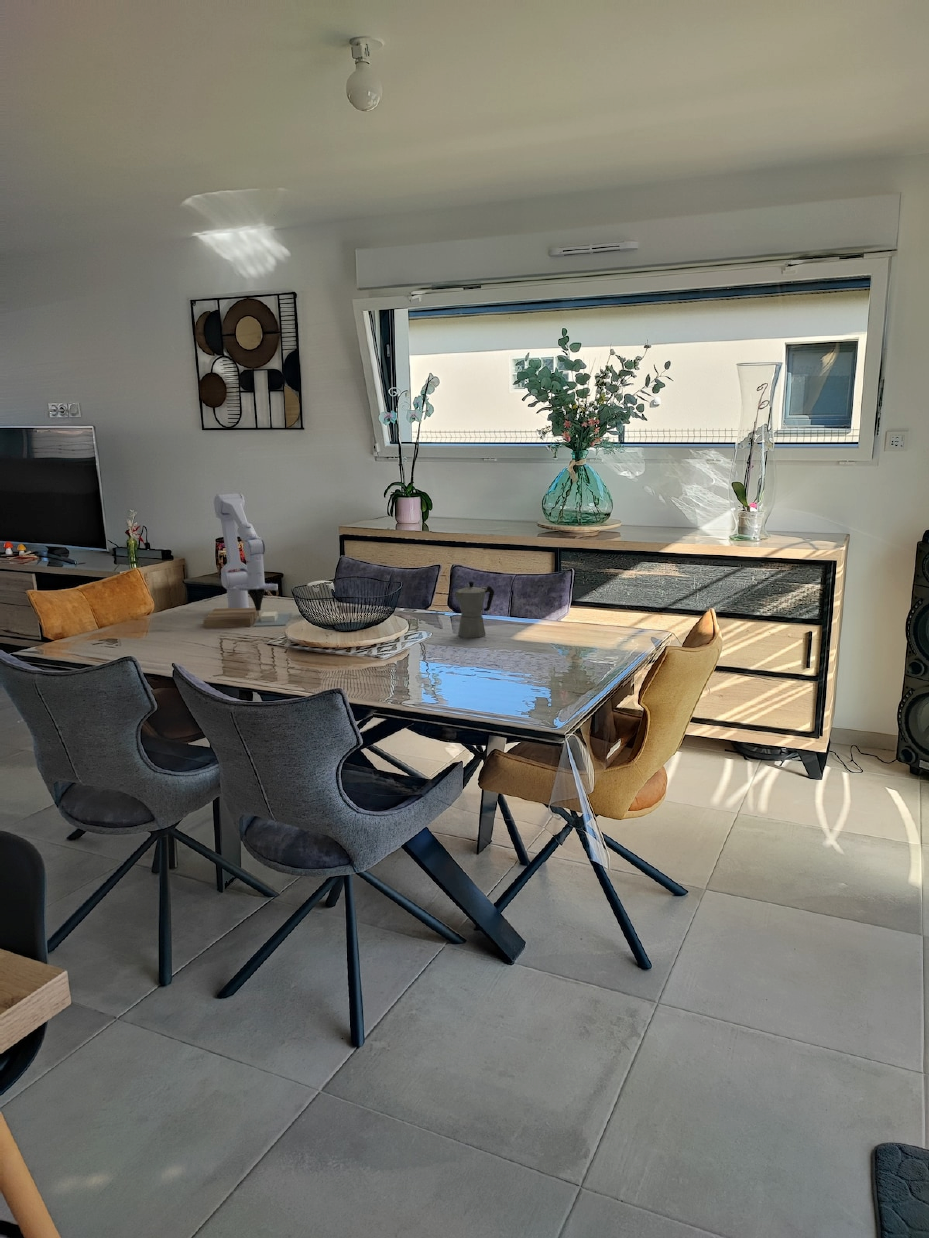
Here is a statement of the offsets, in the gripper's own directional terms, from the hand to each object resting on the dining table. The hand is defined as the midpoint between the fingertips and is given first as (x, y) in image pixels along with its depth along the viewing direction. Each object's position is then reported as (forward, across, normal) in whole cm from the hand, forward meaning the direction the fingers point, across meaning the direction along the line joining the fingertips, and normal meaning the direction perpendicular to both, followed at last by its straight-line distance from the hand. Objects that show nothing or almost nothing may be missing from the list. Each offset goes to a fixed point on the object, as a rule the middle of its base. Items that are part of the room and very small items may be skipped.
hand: (258, 610), depth 314 cm
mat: (+4, +5, 0) cm, 6 cm away
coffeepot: (+4, +76, -30) cm, 81 cm away
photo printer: (+4, +22, +9) cm, 24 cm away
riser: (+4, -10, 0) cm, 10 cm away
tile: (+2, +4, 0) cm, 4 cm away
